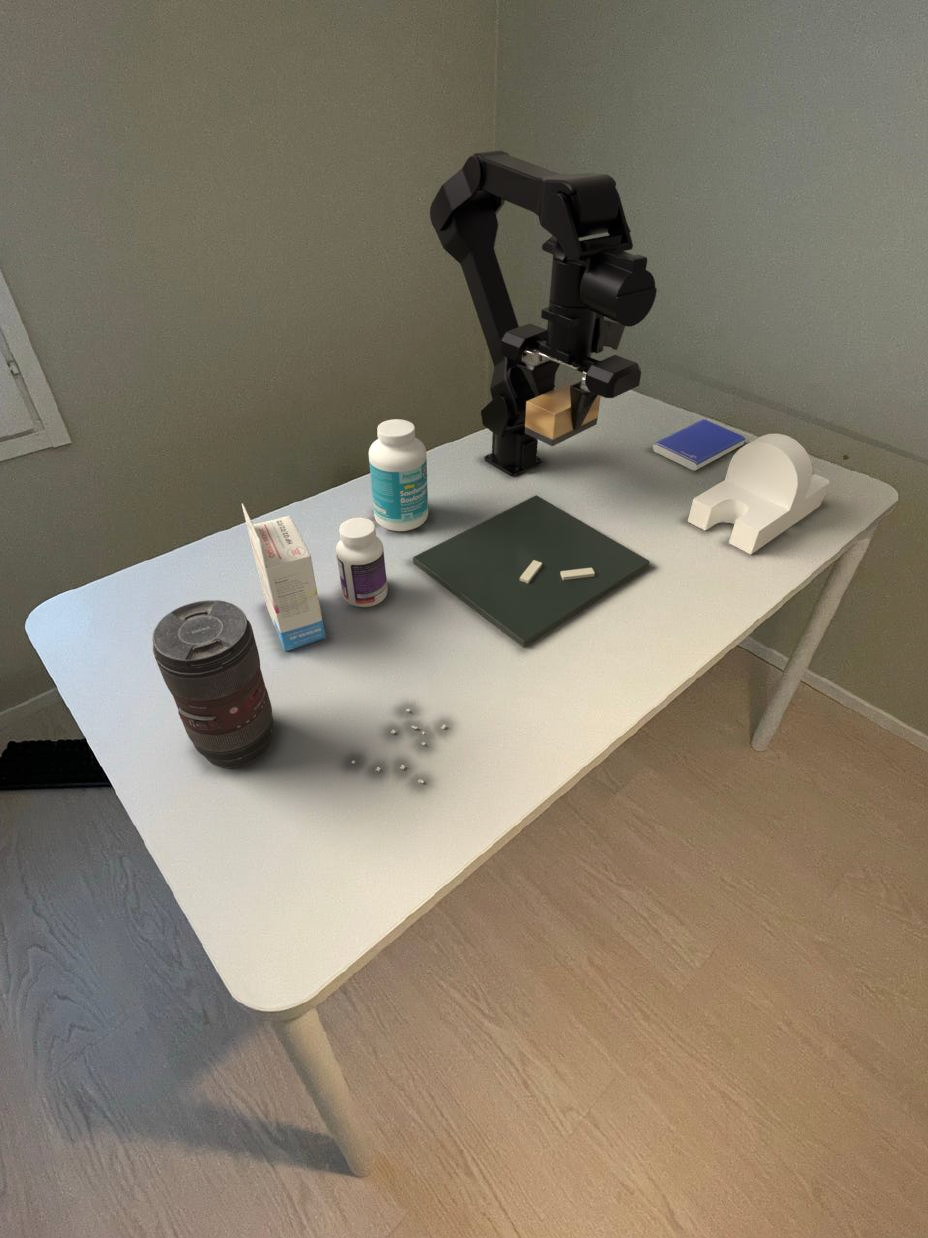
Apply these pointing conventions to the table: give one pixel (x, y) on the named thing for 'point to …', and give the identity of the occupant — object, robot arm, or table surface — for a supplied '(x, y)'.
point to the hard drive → (698, 444)
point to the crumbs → (422, 744)
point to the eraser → (556, 416)
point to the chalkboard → (504, 549)
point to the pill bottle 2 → (398, 476)
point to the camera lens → (215, 680)
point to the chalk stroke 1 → (530, 571)
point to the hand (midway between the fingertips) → (561, 421)
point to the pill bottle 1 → (361, 563)
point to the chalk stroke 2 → (577, 573)
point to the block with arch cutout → (761, 492)
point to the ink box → (287, 580)
